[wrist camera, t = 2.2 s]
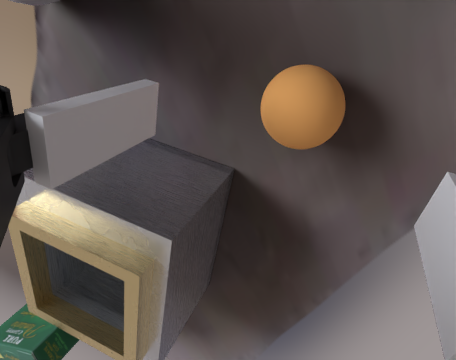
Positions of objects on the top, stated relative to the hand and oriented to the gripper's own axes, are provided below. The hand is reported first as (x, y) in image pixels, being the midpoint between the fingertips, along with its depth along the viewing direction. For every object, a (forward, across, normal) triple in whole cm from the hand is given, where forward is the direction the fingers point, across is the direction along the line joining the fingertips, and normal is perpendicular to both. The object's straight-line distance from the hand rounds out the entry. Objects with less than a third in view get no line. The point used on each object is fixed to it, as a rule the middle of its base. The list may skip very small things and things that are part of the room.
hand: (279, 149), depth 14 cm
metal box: (+9, -12, -13) cm, 20 cm away
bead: (+9, 0, 0) cm, 9 cm away
